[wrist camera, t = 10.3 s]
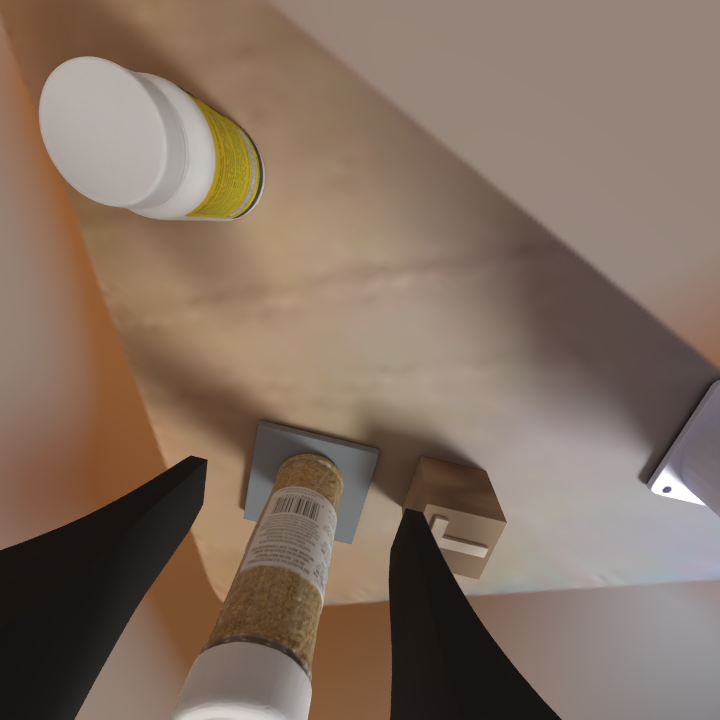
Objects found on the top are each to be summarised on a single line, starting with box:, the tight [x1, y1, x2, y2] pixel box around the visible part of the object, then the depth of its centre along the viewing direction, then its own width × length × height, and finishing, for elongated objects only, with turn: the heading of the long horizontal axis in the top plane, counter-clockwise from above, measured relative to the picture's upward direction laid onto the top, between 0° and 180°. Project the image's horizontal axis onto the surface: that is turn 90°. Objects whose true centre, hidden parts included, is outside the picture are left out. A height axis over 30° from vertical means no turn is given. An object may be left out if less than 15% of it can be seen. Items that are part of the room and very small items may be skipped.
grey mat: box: [243, 420, 379, 544], centre depth 25 cm, size 8×8×1 cm
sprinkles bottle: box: [171, 454, 344, 720], centre depth 18 cm, size 5×4×13 cm
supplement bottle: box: [39, 56, 265, 222], centre depth 15 cm, size 5×5×8 cm
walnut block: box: [402, 456, 507, 579], centre depth 23 cm, size 4×4×5 cm
